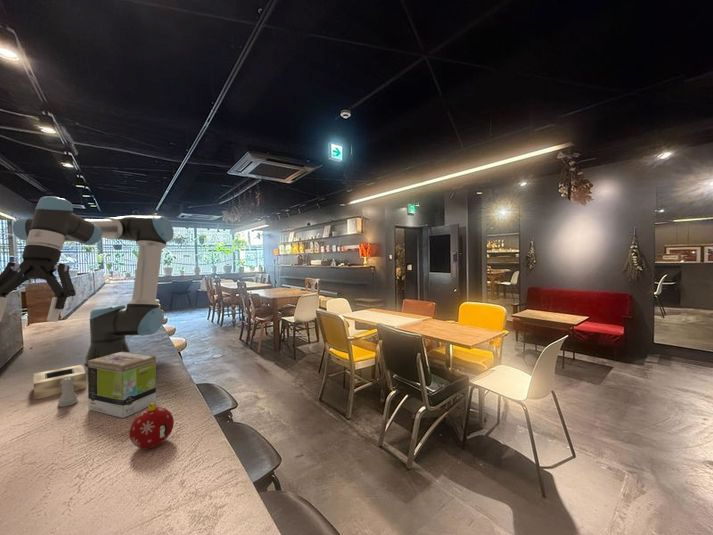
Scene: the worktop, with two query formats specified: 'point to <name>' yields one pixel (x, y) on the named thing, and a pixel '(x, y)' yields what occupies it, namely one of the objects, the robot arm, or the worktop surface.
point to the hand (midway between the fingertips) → (23, 321)
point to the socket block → (57, 381)
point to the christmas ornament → (151, 427)
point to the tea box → (121, 383)
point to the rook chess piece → (67, 392)
